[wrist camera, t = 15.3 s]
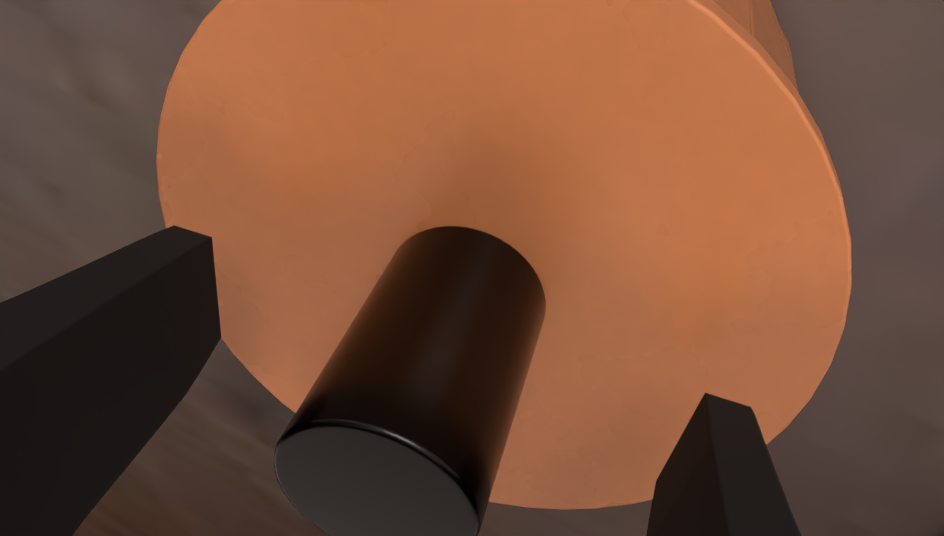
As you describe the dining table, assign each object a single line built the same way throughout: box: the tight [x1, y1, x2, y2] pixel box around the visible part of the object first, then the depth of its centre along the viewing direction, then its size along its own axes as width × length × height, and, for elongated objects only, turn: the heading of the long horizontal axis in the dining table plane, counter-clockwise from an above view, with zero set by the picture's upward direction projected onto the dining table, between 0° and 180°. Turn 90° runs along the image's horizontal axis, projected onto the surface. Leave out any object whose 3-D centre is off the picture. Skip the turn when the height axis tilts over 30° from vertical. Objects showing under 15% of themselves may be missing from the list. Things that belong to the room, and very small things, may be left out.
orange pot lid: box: [156, 0, 852, 536], centre depth 10 cm, size 11×11×5 cm
